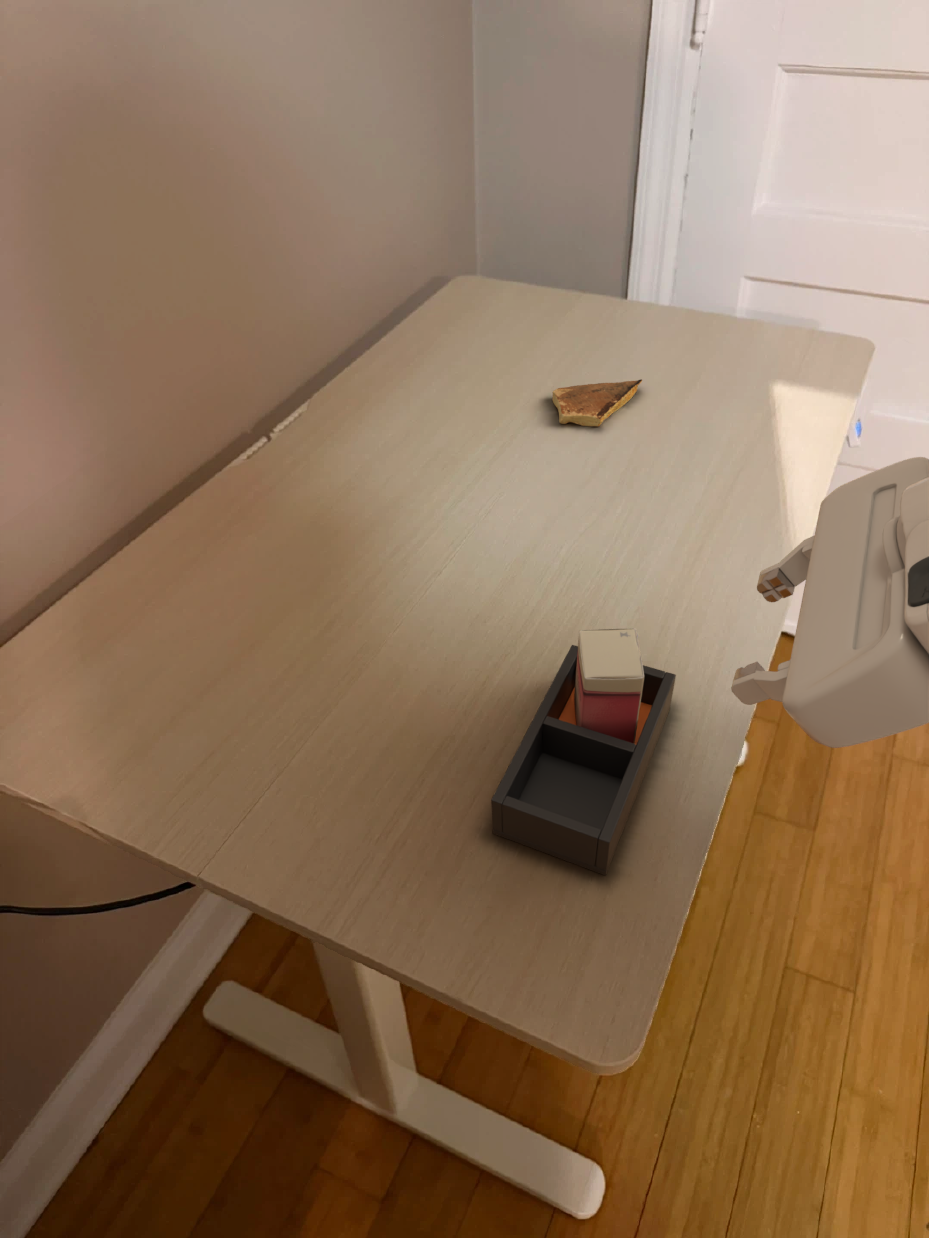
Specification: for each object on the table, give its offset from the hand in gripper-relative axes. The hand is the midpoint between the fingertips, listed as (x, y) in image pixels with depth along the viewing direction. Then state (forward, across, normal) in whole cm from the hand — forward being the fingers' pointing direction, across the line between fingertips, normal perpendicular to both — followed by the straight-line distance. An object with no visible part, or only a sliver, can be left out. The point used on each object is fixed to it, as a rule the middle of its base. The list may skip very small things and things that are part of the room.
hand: (751, 635), depth 56 cm
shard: (+27, -48, -6) cm, 55 cm away
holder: (+17, +3, +4) cm, 17 cm away
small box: (+16, -1, +3) cm, 16 cm away
